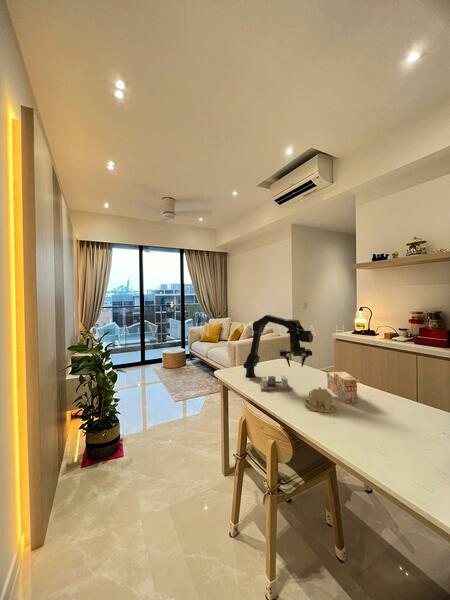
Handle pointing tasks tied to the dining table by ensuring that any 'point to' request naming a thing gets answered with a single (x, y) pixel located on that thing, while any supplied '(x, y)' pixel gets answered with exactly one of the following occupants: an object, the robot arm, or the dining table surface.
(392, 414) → the dining table surface
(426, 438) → the dining table surface
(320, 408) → the ceramic model
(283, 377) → the sliding jaw
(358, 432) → the dining table surface
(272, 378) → the block
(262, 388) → the vise base
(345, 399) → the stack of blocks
